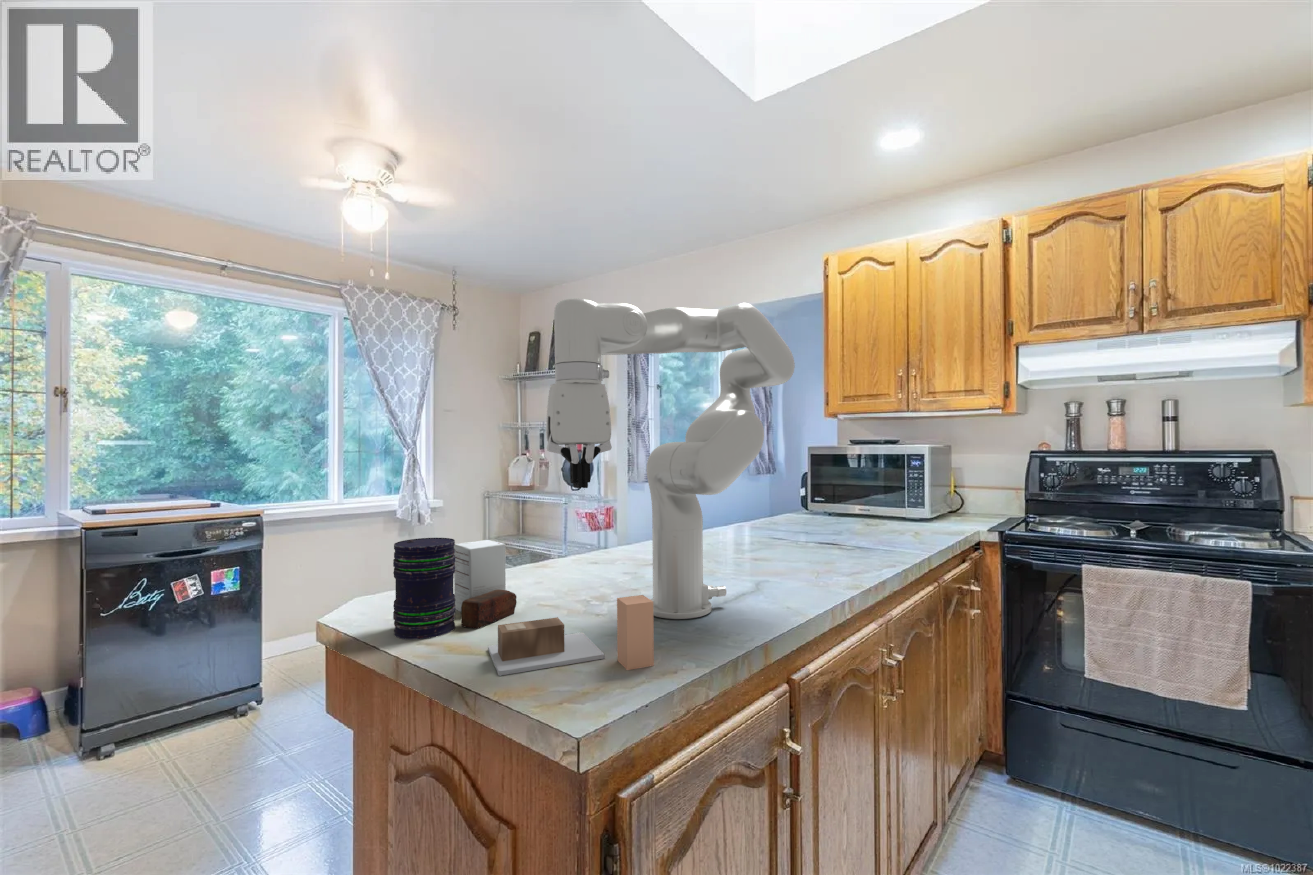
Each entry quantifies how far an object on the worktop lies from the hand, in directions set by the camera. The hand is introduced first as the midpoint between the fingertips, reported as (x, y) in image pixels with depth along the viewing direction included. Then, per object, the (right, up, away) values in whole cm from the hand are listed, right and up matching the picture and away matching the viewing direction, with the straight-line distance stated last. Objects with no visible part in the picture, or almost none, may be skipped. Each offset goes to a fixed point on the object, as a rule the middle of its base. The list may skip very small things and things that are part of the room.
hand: (580, 487), depth 94 cm
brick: (-17, -25, +9) cm, 32 cm away
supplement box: (-21, -25, +16) cm, 36 cm away
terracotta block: (+10, -24, -12) cm, 29 cm away
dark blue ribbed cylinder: (-27, -25, +3) cm, 37 cm away
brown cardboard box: (-2, -22, -8) cm, 23 cm away
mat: (-4, -24, -9) cm, 26 cm away
